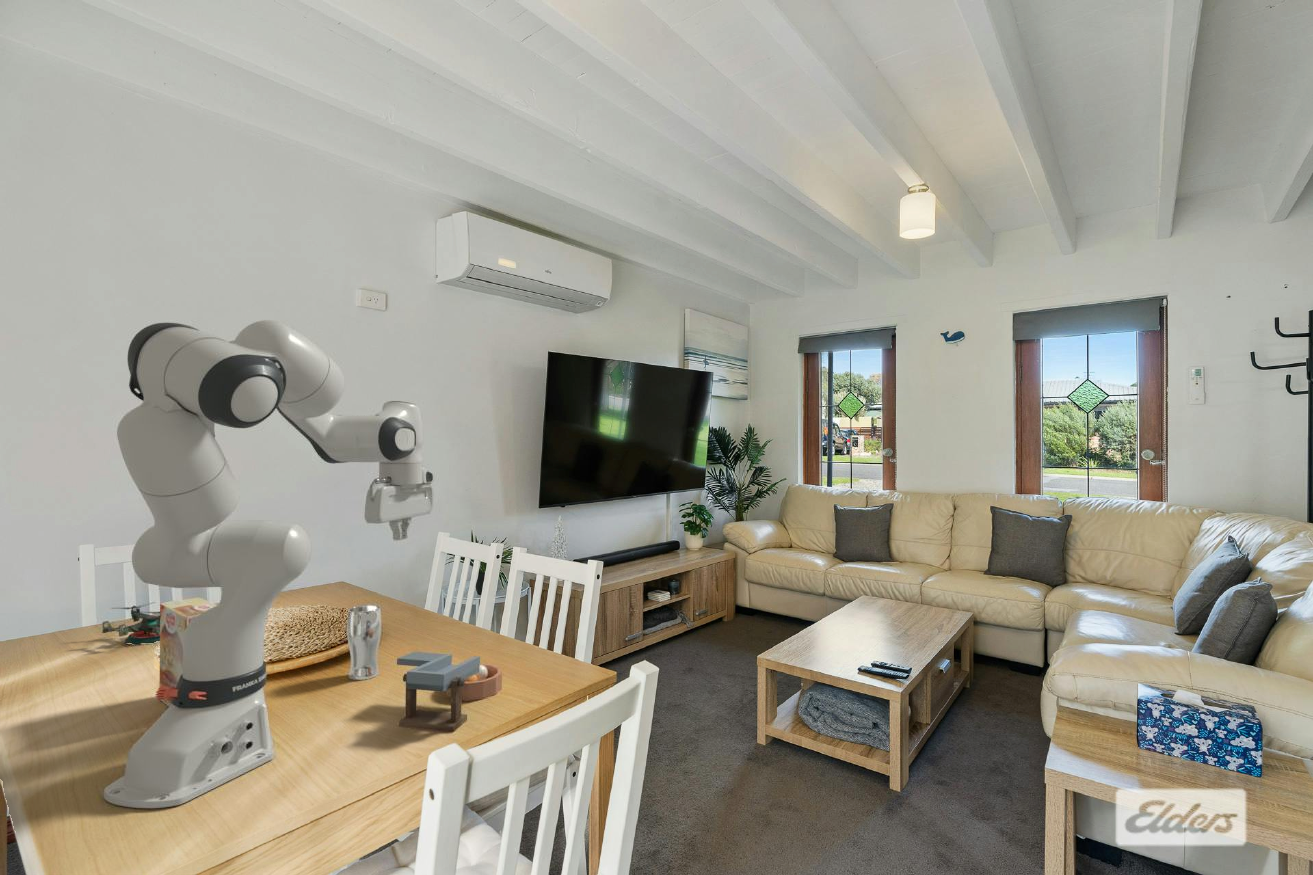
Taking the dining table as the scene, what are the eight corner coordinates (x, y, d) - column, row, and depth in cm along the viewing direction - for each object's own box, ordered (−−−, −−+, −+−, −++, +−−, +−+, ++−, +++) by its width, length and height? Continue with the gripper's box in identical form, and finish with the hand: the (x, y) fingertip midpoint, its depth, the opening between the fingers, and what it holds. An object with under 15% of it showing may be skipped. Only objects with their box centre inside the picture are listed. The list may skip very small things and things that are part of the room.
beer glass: (386, 670, 141) (387, 604, 141) (369, 681, 134) (370, 612, 134) (358, 668, 142) (358, 603, 142) (339, 680, 135) (340, 611, 135)
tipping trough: (443, 691, 111) (444, 674, 111) (370, 685, 114) (371, 668, 114) (479, 671, 125) (480, 656, 125) (413, 666, 127) (414, 651, 128)
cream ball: (488, 661, 133) (491, 673, 134) (473, 660, 134) (476, 672, 135) (481, 674, 130) (485, 686, 131) (466, 673, 130) (470, 685, 132)
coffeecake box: (157, 699, 124) (158, 602, 125) (199, 688, 130) (200, 596, 130) (181, 719, 115) (183, 615, 115) (225, 706, 121) (227, 607, 121)
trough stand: (455, 731, 111) (456, 683, 111) (396, 726, 113) (397, 678, 113) (469, 719, 116) (469, 673, 116) (412, 714, 118) (412, 669, 118)
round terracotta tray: (486, 702, 124) (486, 684, 124) (436, 697, 126) (436, 680, 126) (509, 681, 135) (509, 665, 135) (462, 677, 137) (463, 661, 137)
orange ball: (474, 695, 127) (471, 682, 125) (459, 693, 127) (455, 681, 126) (481, 681, 130) (478, 669, 128) (466, 680, 131) (463, 668, 129)
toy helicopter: (200, 636, 165) (200, 605, 165) (133, 654, 150) (133, 620, 150) (153, 627, 172) (154, 598, 172) (86, 644, 158) (86, 611, 158)
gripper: (384, 478, 124) (384, 547, 124) (438, 474, 144) (438, 533, 144) (356, 478, 125) (356, 546, 125) (414, 473, 145) (413, 532, 145)
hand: (400, 539), depth 134 cm, fingers closed
